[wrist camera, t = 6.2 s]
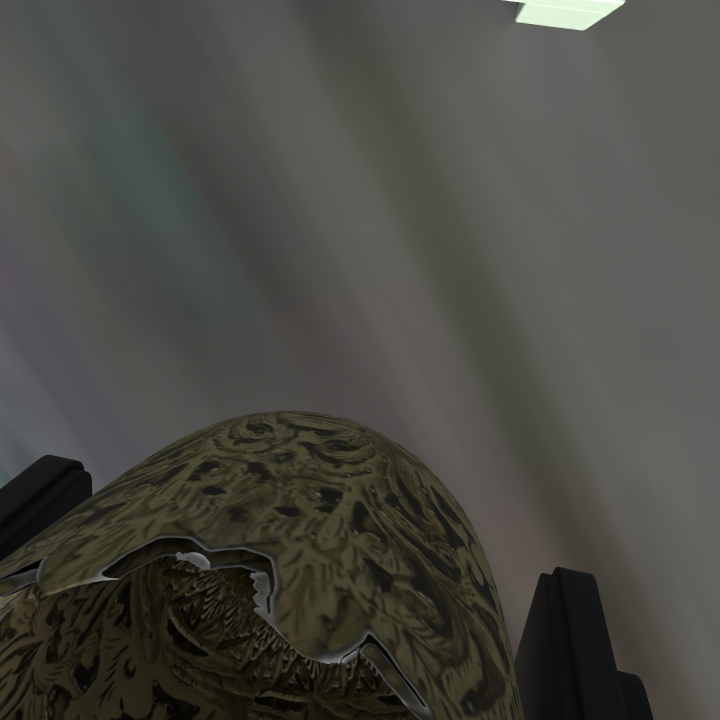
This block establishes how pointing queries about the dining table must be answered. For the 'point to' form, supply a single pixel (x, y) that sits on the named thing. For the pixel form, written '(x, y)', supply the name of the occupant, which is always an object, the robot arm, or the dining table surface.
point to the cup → (259, 588)
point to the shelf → (564, 12)
